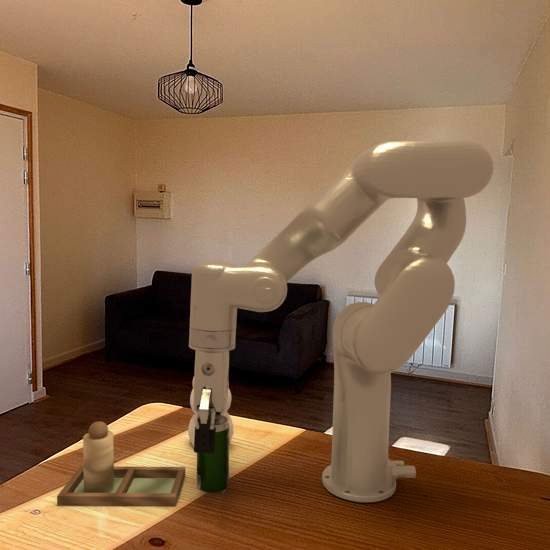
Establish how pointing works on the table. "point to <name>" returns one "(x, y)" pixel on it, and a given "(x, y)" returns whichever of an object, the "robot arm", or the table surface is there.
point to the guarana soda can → (215, 460)
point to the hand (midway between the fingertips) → (207, 439)
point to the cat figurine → (193, 420)
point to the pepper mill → (98, 459)
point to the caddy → (138, 494)
